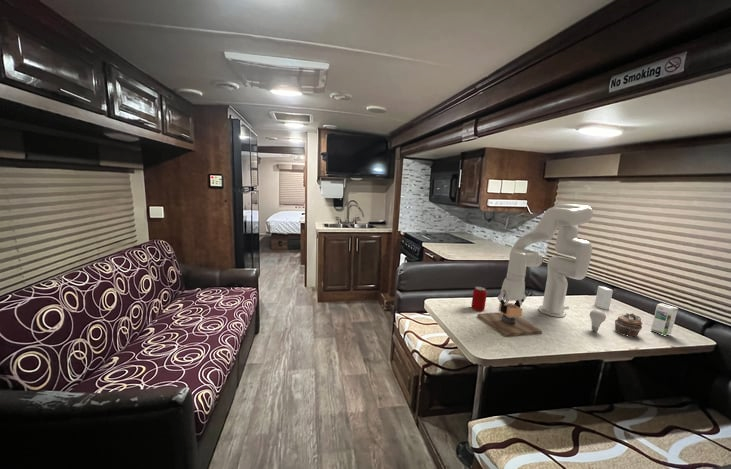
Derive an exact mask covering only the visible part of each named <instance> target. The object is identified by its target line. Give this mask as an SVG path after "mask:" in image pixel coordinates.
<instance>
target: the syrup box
mask: <svg viewBox="0 0 731 469" xmlns="http://www.w3.org/2000/svg"><path fill="white" fill-rule="evenodd" d="M678 310H679V308H678V307H675V306H671V305H670V304H666V303H658V304H656V308H655V312H654V317H653V320H652V323H651V327H650V330H651V331H654V332H657V333H660V334H663V335H669V334H671V335H672V332H673V328H674V325H675V321H676V317H677V314H678V313H677V312H678ZM651 331H650V332H651ZM654 332H653V333H654ZM657 333H656V334H657ZM669 336H670V335H669Z"/></svg>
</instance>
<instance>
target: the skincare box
mask: <svg viewBox="0 0 731 469" xmlns="http://www.w3.org/2000/svg"><path fill="white" fill-rule="evenodd" d="M613 293H614V290H613V289H611V288H608V287H606V286H600V285H598V287H597V292H596V296H595V302H594V306H595V307H597V308H599V309H600V310H610V308H611V307H610V305H611V302H612V296H613Z"/></svg>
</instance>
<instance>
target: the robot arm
mask: <svg viewBox="0 0 731 469" xmlns="http://www.w3.org/2000/svg"><path fill="white" fill-rule="evenodd" d="M593 213H594V211H593V209H592V208H591V206H589V205H584V204H573V203H572V204H571V203H556V204H555V205H554V206H553V207H549V208H548V209H546V211H545V212H544V214H543V215H542V217H541V218H540V220H539V221H538V223H537V225H536V227H535V228H534V229H533V230H532V231H530V232H527V233H526V234H524V235H522V236H520V237H519V238H518V239H517V240H516V242H515V243H514V244H513V246H512V248H511V249H510V252H509V260H508V266H507V273H506V277H505V278H504V280H503V282H502V285H501V290H500V294H499V295H498V296H497V300H498V301H499V302H500V303H501V312H503V313H504V314H506V311H507V306H506V305H507V303H510V301H511V302H513V301H515V302H514V304H515V305H516V306H518V307H520V308H521V306H522V305H523V303H524V301H525V300H526V299H527V295H526V292H525V291H526V290H525V289H526V281H525V280H526V279H525V278H526V272H527V267H528V268H538V267H539V266H541V265H542V264H543V261H544V258H543V256H542V254H541V253H540V252H537V251H534V250H530V249H526V248H527V247H528V246H530V245H532V244H536V243H542V242H547V241H550V240H552V239H553V237H554V235H555V234H556V233H557V235H556V239H555V240H556V241H555V245H554V250H555V252H556V253H557V254H560V255H564V256H560V255H559V256H558V255H554V256H552V257H550V258H549V259H548V261H547V279H546V283H545V290H544V294H543V300H542V305H539V306H538V311H540V312H541V313H543V314H545V315H548V316H551V317H555V318H564V317H565V316H566V312H565V310H569V309H570V306H569V305H565V302H566V296H567V290H568V285H569V284H568V280H567V278H570V279H574V280H580V281H581V280H583V279H585V278H586V276H587V274H588V270H589V266H590V262H591V258H592V252H593V245H592V243H591V242H590V241H588V240H586V239H581V238H580V239H579V238H578V234H579V233H578V232H579V226H580V225H581V226H582V225H583V224H586V223H588V222H589V221H591V219H592V218H593V215H594V214H593ZM565 256H566V257H565ZM567 256H568V257H567ZM569 257H573V258H575V259H573V258H569ZM566 277H567V278H566ZM500 303H499V304H500Z"/></svg>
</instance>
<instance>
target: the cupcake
mask: <svg viewBox="0 0 731 469" xmlns="http://www.w3.org/2000/svg"><path fill="white" fill-rule="evenodd" d="M642 325H643V322H642V318H641V317H640V316H639V315H636V314H634V313H633V312H632V313H628V312H626V313H624V314H621V315H620V316H618V317H617V319H615V320H614V328H615V329H614V330H616V331H617V332H616V331H615V332H616V333H618V332H619V333H618V334H620V333H622V334H625V335H628V336H637V337H638V335H639V333H640V332H641V330H642V328H643V326H642ZM622 334H621V335H622ZM625 335H624V336H625ZM628 336H627V337H628Z"/></svg>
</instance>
